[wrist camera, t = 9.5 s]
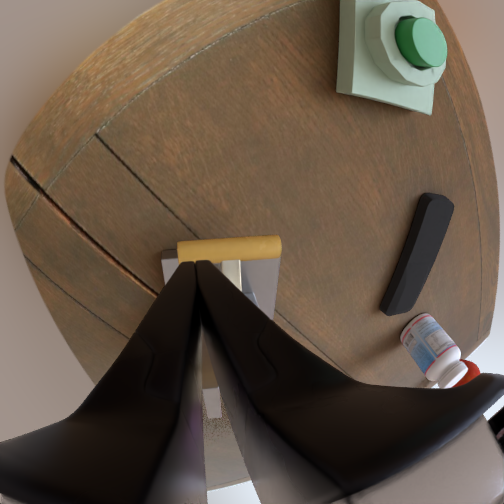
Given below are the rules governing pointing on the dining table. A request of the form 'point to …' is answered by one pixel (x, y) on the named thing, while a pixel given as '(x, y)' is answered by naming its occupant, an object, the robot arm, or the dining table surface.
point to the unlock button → (421, 42)
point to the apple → (468, 373)
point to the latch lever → (230, 252)
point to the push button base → (382, 55)
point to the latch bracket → (255, 288)
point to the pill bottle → (433, 351)
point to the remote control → (418, 253)
